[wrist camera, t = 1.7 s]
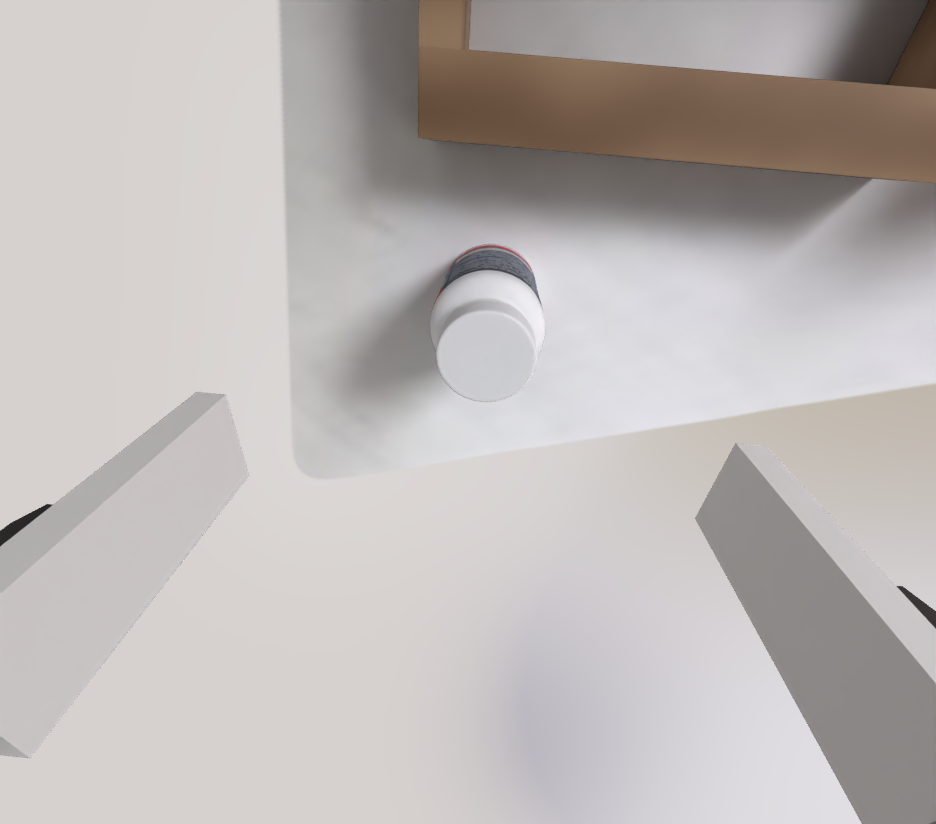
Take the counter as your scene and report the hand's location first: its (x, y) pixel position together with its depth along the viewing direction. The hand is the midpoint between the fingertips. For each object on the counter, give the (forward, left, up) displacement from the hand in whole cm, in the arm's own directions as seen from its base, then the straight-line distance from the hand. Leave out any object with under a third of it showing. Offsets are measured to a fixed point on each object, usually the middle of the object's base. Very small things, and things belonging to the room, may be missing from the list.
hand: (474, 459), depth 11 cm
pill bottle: (0, 0, -15) cm, 15 cm away
